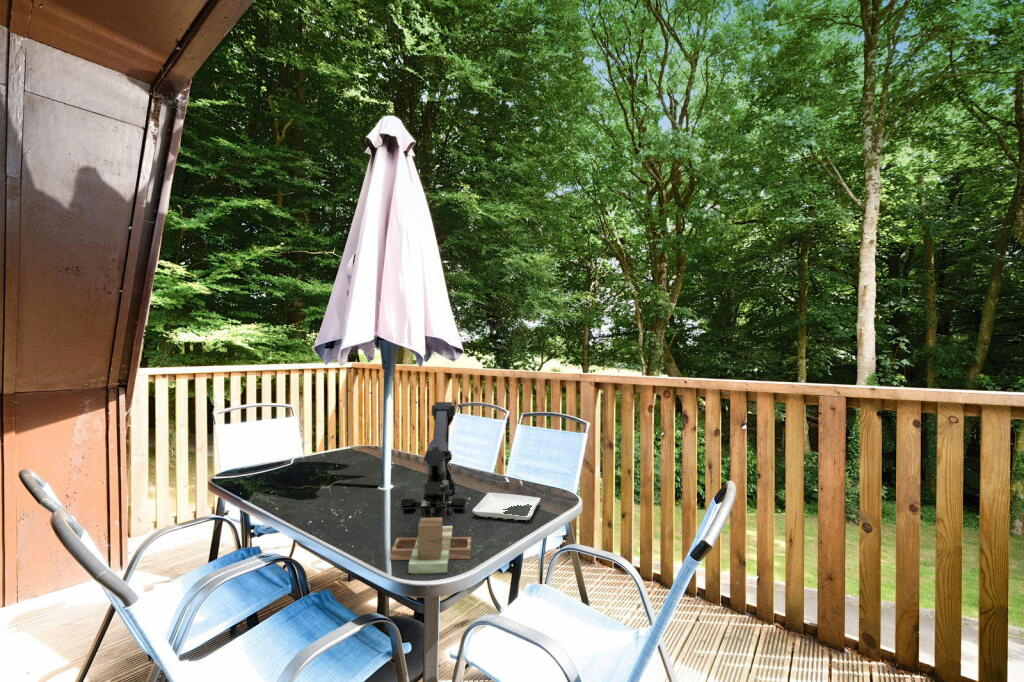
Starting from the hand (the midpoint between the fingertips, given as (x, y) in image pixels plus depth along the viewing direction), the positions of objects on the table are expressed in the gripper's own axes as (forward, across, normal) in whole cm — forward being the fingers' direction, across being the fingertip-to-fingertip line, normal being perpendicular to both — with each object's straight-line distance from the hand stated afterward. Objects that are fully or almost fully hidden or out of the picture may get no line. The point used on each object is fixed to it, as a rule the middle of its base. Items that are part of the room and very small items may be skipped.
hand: (431, 534), depth 130 cm
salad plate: (-21, +24, +32) cm, 45 cm away
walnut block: (+5, 0, +1) cm, 5 cm away
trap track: (+2, 0, +8) cm, 8 cm away
